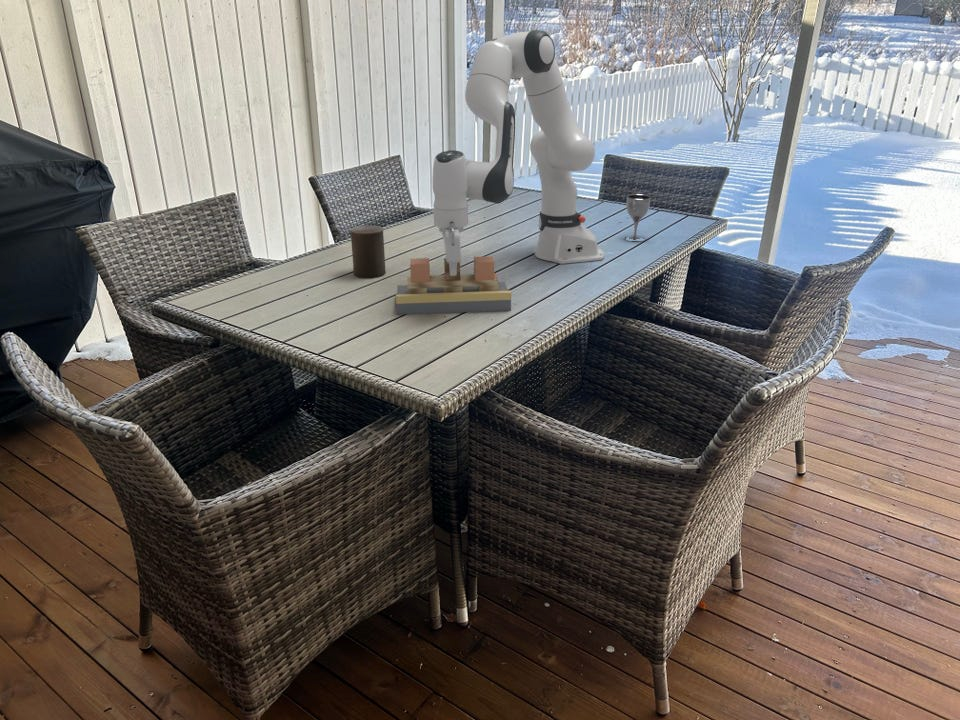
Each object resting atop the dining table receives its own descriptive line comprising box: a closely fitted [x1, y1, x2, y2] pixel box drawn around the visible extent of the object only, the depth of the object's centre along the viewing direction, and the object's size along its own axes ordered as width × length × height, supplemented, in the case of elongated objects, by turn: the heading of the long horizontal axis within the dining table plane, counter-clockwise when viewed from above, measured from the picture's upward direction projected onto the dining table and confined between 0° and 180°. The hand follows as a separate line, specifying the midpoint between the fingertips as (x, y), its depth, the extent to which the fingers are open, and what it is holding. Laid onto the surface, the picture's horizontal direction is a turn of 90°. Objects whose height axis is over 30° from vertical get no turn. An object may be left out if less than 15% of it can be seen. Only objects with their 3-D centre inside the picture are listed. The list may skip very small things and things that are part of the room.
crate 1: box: [409, 257, 431, 283], centre depth 179 cm, size 5×5×5 cm
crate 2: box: [473, 255, 495, 281], centre depth 180 cm, size 5×5×5 cm
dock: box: [395, 281, 512, 315], centre depth 183 cm, size 30×14×5 cm, turn 95°
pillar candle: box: [350, 225, 386, 279], centre depth 203 cm, size 10×10×15 cm
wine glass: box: [626, 193, 652, 240], centre depth 235 cm, size 8×8×15 cm
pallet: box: [406, 257, 499, 294], centre depth 180 cm, size 24×6×9 cm, turn 95°
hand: (452, 269), depth 179 cm, fingers open, 8 cm apart
